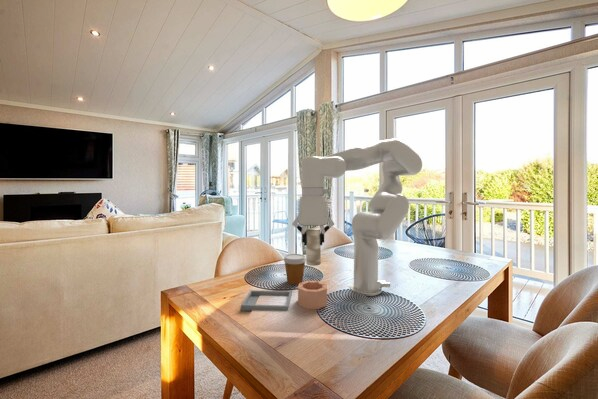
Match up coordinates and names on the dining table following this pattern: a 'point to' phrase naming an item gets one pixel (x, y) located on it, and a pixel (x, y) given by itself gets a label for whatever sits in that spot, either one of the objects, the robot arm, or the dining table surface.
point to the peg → (313, 247)
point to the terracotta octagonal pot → (312, 294)
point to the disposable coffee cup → (294, 268)
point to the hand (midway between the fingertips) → (313, 244)
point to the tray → (252, 299)
